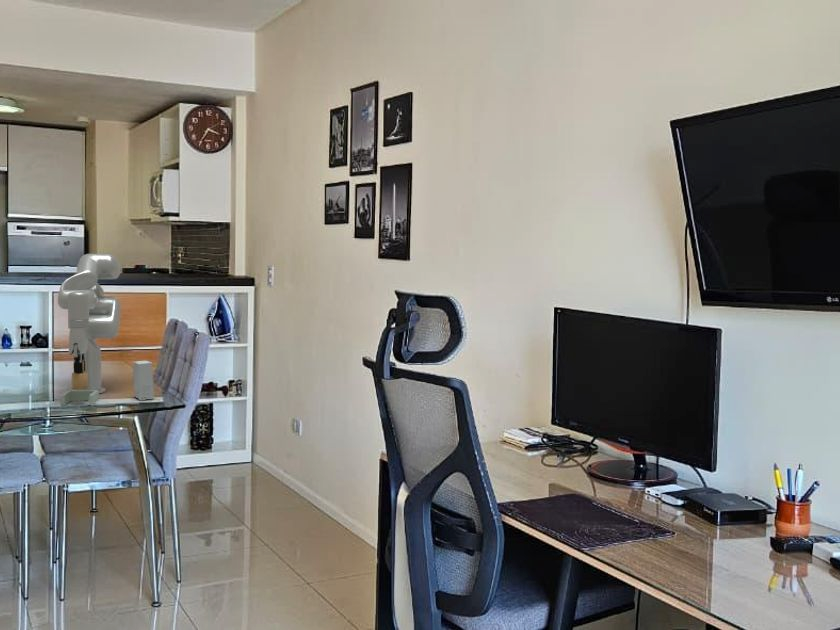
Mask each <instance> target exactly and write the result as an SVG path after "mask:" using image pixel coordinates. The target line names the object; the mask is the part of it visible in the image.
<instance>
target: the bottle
mask: <svg viewBox="0 0 840 630" xmlns="http://www.w3.org/2000/svg"><path fill="white" fill-rule="evenodd" d="M82 362H83V372H82V373H74V371H73V372H72V373H71V388H72V389H71V390H73V389H74V390H82V389H87V388H88V373H87V372H84V360H83V359H82Z"/></svg>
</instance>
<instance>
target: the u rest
mask: <svg viewBox="0 0 840 630" xmlns="http://www.w3.org/2000/svg"><path fill="white" fill-rule="evenodd" d="M98 399H99V400H100V393H99V390H73V389H71V390H66V391H65V392H64V393H63V394H61V395H60V403H61V405H60V406H61V407H65V406H67V405H68V404H69V403H71V402H78V401H77V400H89V401H88V405H91V406H90V407H93V406H94V405H95V404H96V403H97V402H96V401H97V400H98ZM70 401H71V402H70ZM95 402H96V403H95ZM67 403H68V404H67ZM94 403H95V404H94ZM66 404H67V405H66ZM93 404H94V405H93Z"/></svg>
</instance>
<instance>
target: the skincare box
mask: <svg viewBox="0 0 840 630" xmlns="http://www.w3.org/2000/svg"><path fill="white" fill-rule="evenodd" d="M153 369H154V368H153V362H152V361H148V360H139V361H138V360H137V361H132V372H133V373H132V374H133V376H132V377H133V379H132V380H133V394H134V395H133V398H134V397H136V398H138V399H139V401H147V400H146V399H153V400H155V391H154V389H155V388H154V370H153ZM136 398H135V399H136ZM138 399H137V400H138Z"/></svg>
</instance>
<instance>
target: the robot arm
mask: <svg viewBox="0 0 840 630" xmlns="http://www.w3.org/2000/svg"><path fill="white" fill-rule="evenodd" d="M120 275H121V264H120V261H119V260H118V259H117V257H116V256H115V255H113V254H110V253H86V254H84V255H82V256H81V257H80V258H79V260H78V263H77V266H76V272H75V274H73V275H72V276H70V277H69V278H67V279H65V280H64V281H63V282H62V283H61V285H60V287H59V291H58V294H57V304H58V306H59V307H60V308H61V309H63V310H67V324H68V325H67V326H68V327H67V328H68V329H69V336H68V354H69V355H72V357H73V372H74V373H82V372H83V362H82V359H83V360H84V372H87V373H88V388H87V389H82V390H99V394H103V393H105V392H106V391H107V390H106V388H105V387H103V386H102V349H101V346H100V345H99V344H98V342H96V340H95V339H98V340H99V339H114V338H116V337H117V336H118V335H119V331H120V324H121V323H120V321H121V312H122V311H121V310H122V309H121V308H122V307H121V301H120V300H119V298H118V297H116V296H111V295H110V296H109V295H108V296H107V295H105V296H104V293H105V292H104V288H103V287H102V286H101V285H100V284H99V283H98V280H117V279H118V278H119V276H120ZM72 390H74V389H72Z"/></svg>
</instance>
